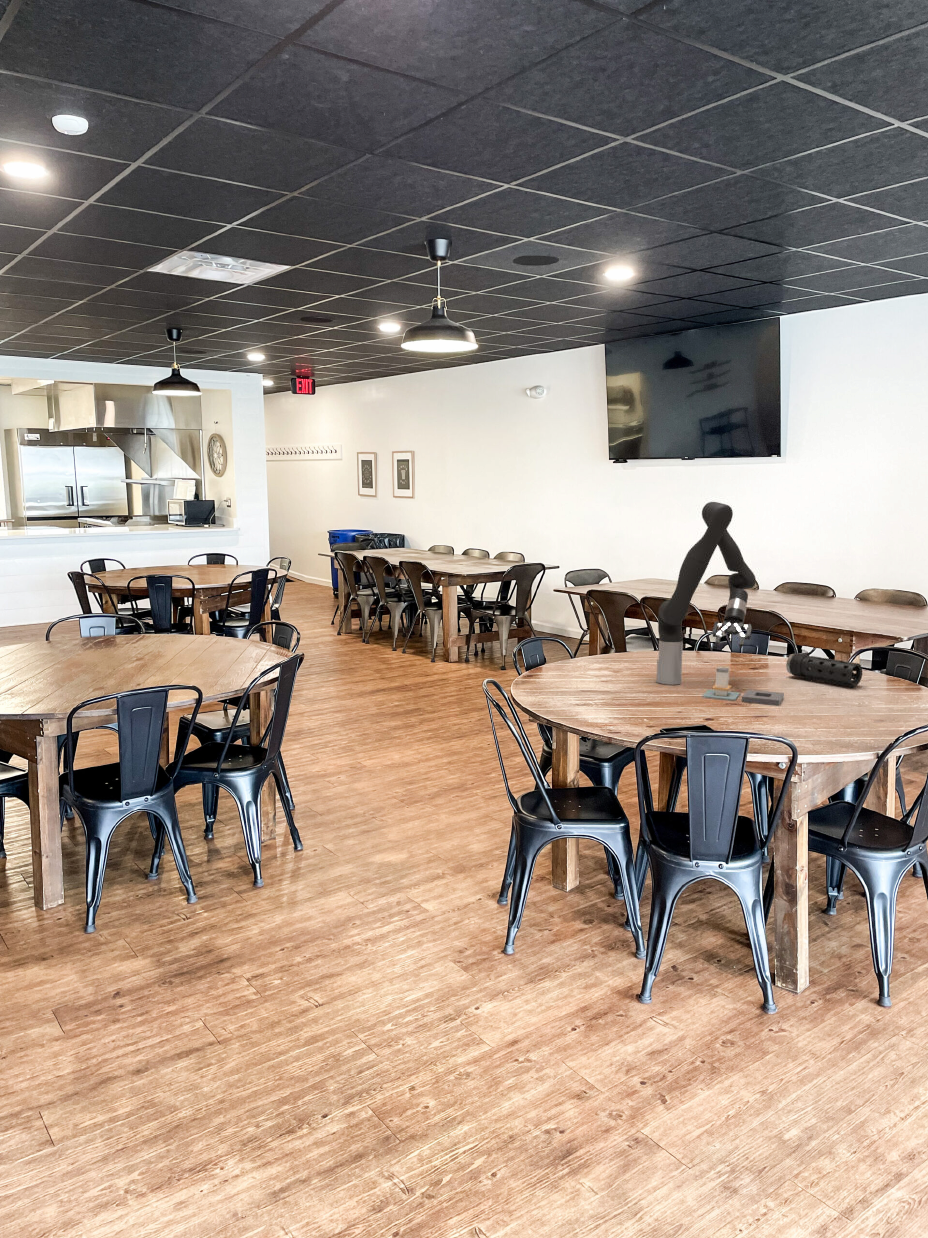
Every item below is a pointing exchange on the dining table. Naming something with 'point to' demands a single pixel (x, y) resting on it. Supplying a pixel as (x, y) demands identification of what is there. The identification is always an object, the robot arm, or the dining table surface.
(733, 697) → the mat
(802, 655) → the muzzle brake
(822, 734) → the dining table surface
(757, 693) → the socket box
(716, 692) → the plug
